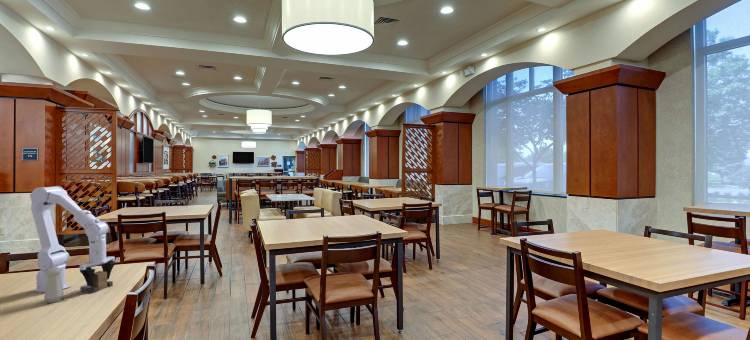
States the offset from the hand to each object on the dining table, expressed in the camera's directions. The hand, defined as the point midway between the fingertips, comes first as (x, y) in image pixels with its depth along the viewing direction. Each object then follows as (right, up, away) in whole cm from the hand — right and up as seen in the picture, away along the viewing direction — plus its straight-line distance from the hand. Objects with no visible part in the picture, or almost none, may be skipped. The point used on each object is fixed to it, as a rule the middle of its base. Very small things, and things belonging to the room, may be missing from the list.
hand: (98, 282), depth 156 cm
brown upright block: (0, -3, 0) cm, 3 cm away
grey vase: (-7, -3, -14) cm, 16 cm away
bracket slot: (0, -3, 0) cm, 3 cm away
